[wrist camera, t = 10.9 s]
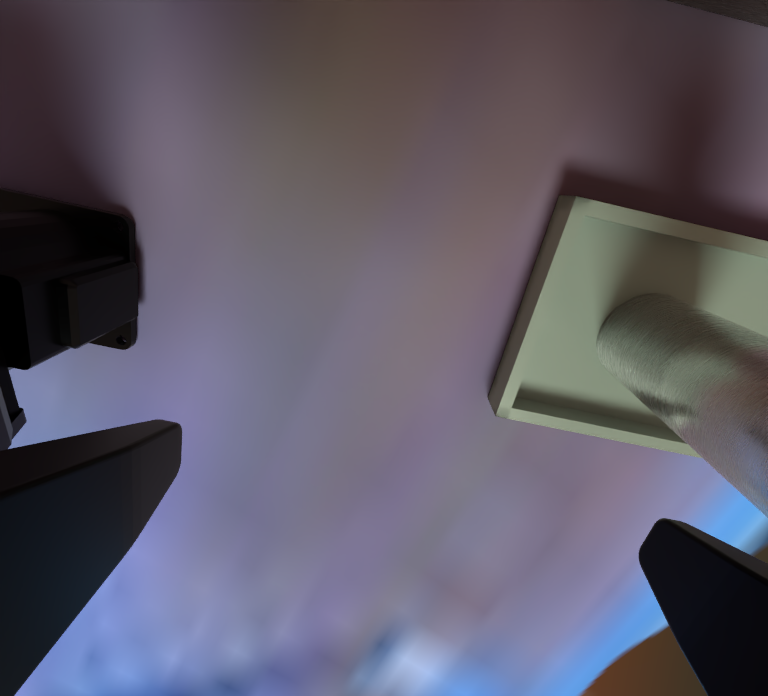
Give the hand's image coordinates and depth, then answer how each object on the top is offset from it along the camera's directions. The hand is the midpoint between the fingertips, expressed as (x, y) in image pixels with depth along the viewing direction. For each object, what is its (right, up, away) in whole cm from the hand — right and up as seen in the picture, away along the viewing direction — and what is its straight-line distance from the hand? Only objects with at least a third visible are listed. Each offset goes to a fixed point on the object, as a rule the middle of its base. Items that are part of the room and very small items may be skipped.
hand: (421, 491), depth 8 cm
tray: (+12, +3, +12) cm, 18 cm away
